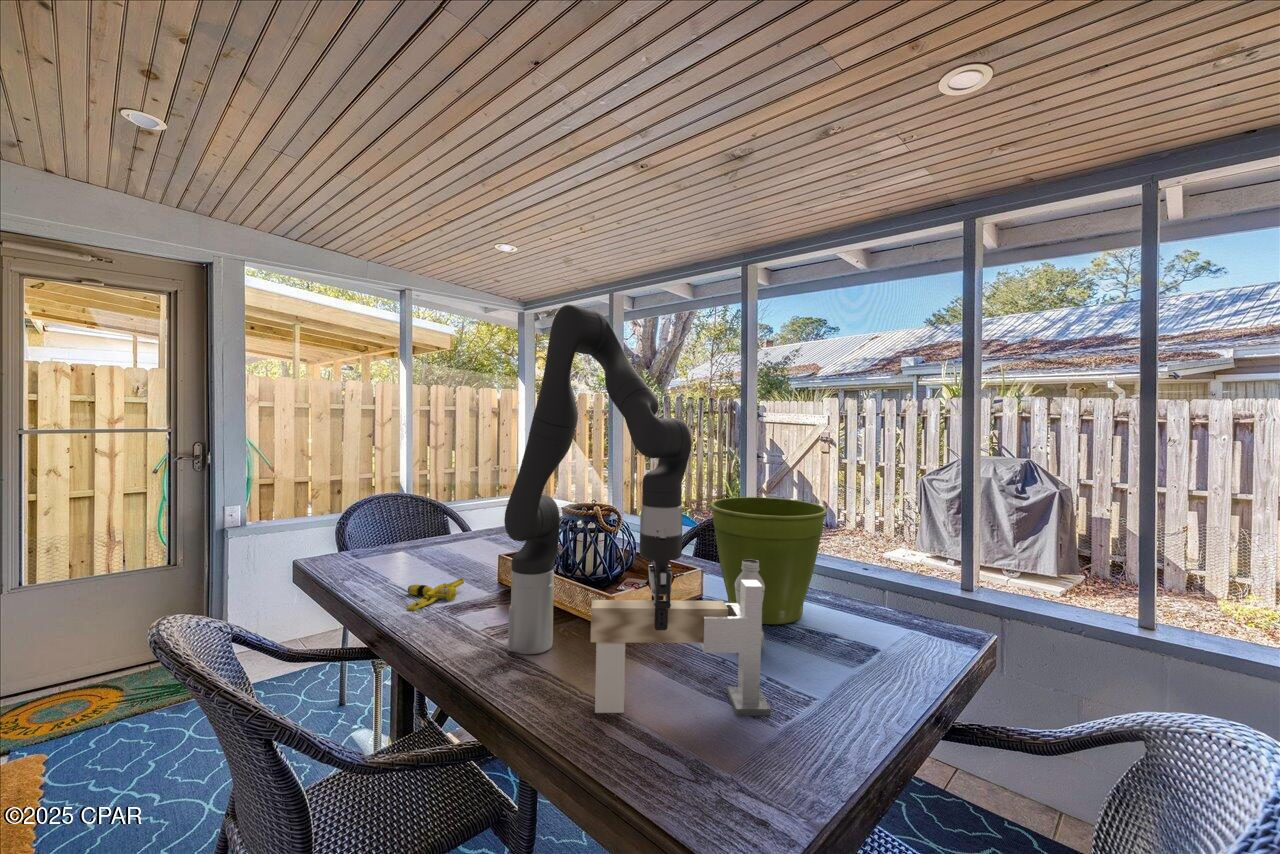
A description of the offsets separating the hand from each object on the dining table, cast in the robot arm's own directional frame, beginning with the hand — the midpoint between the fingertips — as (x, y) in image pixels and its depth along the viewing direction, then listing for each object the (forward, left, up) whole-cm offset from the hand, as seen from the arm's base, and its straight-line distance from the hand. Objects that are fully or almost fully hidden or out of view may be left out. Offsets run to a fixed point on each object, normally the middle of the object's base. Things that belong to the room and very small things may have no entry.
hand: (658, 620), depth 102 cm
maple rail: (0, 0, -3) cm, 3 cm away
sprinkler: (-59, +57, -16) cm, 83 cm away
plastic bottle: (+22, +23, -15) cm, 35 cm away
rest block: (-8, 0, -15) cm, 17 cm away
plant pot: (+32, +47, -15) cm, 59 cm away
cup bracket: (+14, 0, -15) cm, 20 cm away
